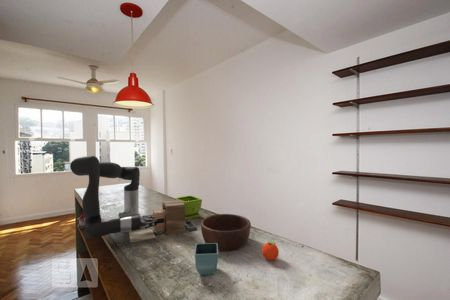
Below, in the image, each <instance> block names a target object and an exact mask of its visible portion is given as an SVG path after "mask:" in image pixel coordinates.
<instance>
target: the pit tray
mask: <svg viewBox="0 0 450 300" xmlns="http://www.w3.org/2000/svg"><path fill="white" fill-rule="evenodd" d="M197 227H198V226H197V225H196V224H195V223H194V222H193V221H192V220H191V219H188V220H185V230H186V231H188V232H190V231H196V230H197Z"/></svg>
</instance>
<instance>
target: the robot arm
mask: <svg viewBox="0 0 450 300" xmlns="http://www.w3.org/2000/svg"><path fill="white" fill-rule="evenodd" d="M69 168H70V170H71V172H72V173H73V174H74V175H76V176H79V177H80V176H84V177H85V176H88V185H87V188H86V190H85V191H84V194H83V197H82V214H83V217H84V221H85V228H84V231H83V232H84V236H85V237H86V238H88V239H97V238H101V237H104V236H108V235H112V234H113V235H114V234H119V233H129V232H131V231H137V230H141V227H144V229H149V228H153V226H156V225H157V224H159V223H164V218H163V219H155V220H154V219H153V214H148V215H147V214H146V215H142V217H141V215H140V213H139V207H140V205H139V201H140V200H139V198H140V197H139V196H140V195H139V187H140V178H141V177H140V176H141V175H140V173H141V171H140V169H139V167H137V166H121V165H120V164H118V163H115V162H109V161H100V159H99V158H98V157H97V156H95V155H87V156H80V157H77V158H74V159H73V160H72V161H71V162H70V164H69ZM100 178H108V179H117V178H118V179H120V180H125V181H130V183H129V184H126V185H124V187H123V203H124V204H123V212H124V211H126V210H130V209H131V207H134V208H136V211H137V213H135V216H129V217H123V218H121V219H120V218H119V217H118V218H112V219H109V220H107V221H102V217H101V216H102V215H101V208H100V199H99V195H100V193H99V189H100Z"/></svg>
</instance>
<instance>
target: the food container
mask: <svg viewBox="0 0 450 300" xmlns="http://www.w3.org/2000/svg"><path fill="white" fill-rule="evenodd" d="M135 213H137V211H136V208H134V207H131V209H130V210H126V211H124V210H123V212H118V218H120V219H121V218H123V217H129V216H136V215H135Z"/></svg>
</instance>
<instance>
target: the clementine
mask: <svg viewBox="0 0 450 300" xmlns="http://www.w3.org/2000/svg"><path fill="white" fill-rule="evenodd" d="M279 251H280V250H279V248H278V246H277V245H276V242H274V241H271V242H267V243H264V244H263V246H262V250H261V252H262V253H261V254H262V255H263V257H264V258H265V259H266V260H268V261H275V260H276V259H277V258H278V256H279V253H280V252H279Z"/></svg>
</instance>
